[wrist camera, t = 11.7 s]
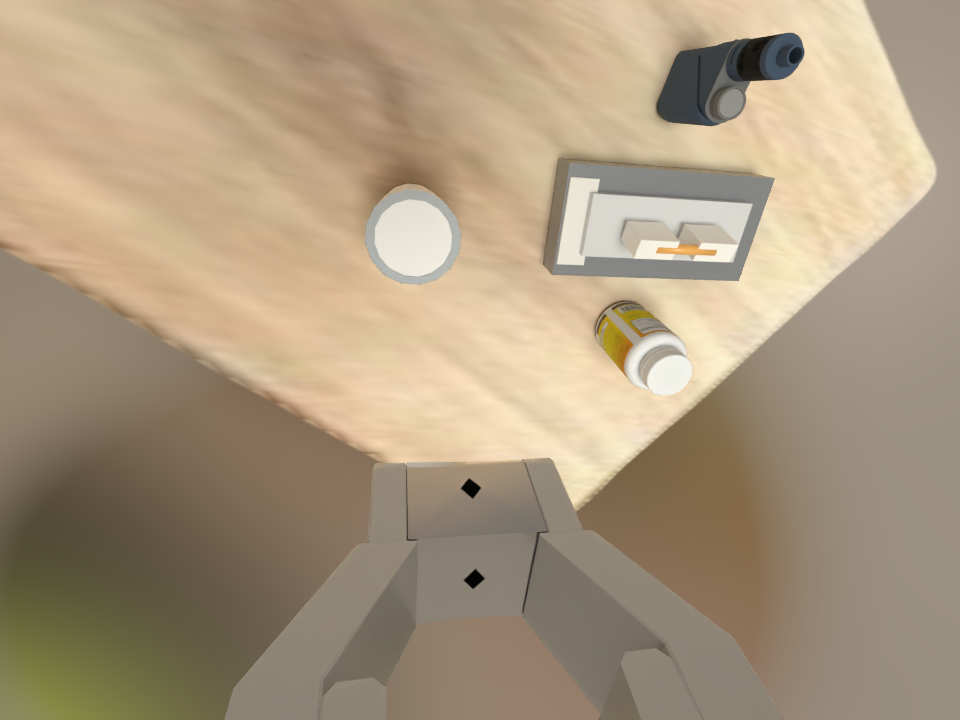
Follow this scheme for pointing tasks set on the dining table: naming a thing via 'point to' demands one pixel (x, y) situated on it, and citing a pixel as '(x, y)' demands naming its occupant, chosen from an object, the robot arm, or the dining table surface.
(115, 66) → the dining table surface
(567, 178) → the panel
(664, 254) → the double breaker paddle
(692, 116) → the vaping device
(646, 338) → the supplement bottle
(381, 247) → the white cylinder
